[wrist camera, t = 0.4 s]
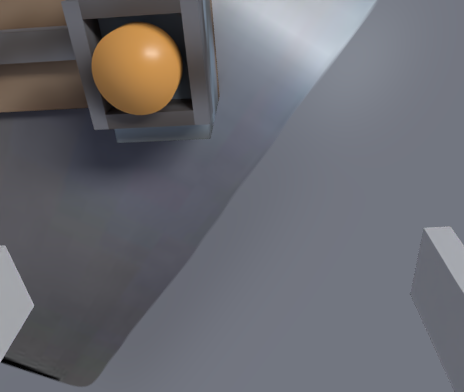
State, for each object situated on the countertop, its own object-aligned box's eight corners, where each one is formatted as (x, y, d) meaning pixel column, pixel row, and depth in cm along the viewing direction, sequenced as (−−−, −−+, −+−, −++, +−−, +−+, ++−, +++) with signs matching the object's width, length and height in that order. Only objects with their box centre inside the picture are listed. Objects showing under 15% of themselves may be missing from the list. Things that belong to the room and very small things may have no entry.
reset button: (94, 24, 24) (81, 31, 22) (177, 18, 24) (170, 25, 22) (113, 105, 27) (102, 117, 25) (187, 101, 26) (182, 113, 25)
